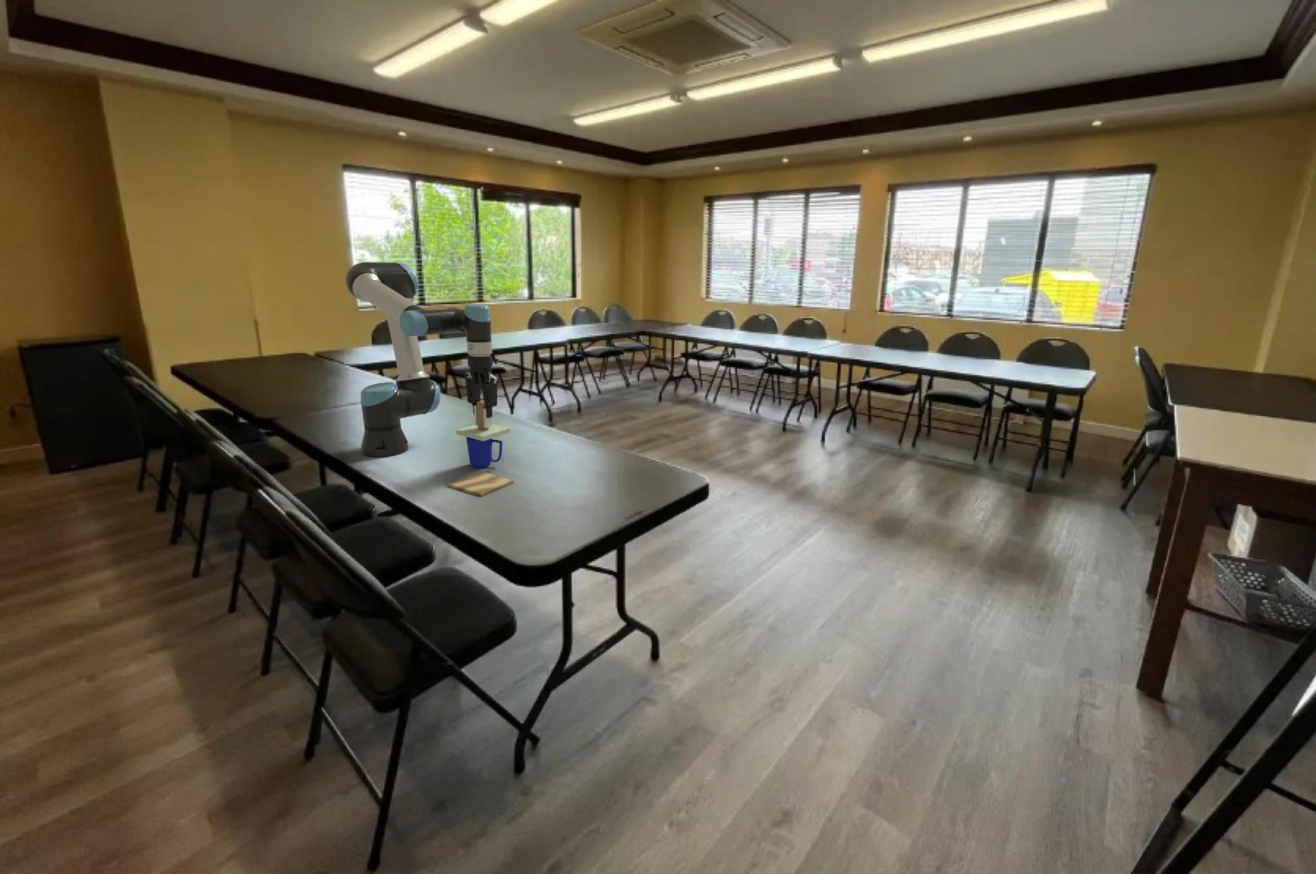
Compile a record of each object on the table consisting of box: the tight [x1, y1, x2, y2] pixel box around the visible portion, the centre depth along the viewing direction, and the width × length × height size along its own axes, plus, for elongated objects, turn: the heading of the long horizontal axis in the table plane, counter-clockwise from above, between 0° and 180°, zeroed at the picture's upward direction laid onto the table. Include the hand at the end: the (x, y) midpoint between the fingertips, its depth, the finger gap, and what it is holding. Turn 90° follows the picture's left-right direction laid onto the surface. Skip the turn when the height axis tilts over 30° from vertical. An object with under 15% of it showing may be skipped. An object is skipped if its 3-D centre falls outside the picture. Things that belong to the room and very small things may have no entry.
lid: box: [455, 400, 511, 441], centre depth 187 cm, size 12×12×10 cm
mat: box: [448, 471, 515, 497], centre depth 175 cm, size 14×13×1 cm
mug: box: [465, 437, 503, 468], centre depth 190 cm, size 8×12×10 cm
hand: (483, 425), depth 188 cm, fingers closed on lid, 3 cm apart
